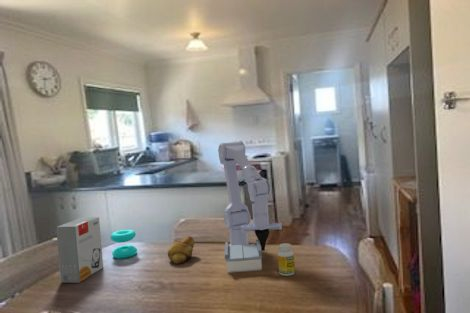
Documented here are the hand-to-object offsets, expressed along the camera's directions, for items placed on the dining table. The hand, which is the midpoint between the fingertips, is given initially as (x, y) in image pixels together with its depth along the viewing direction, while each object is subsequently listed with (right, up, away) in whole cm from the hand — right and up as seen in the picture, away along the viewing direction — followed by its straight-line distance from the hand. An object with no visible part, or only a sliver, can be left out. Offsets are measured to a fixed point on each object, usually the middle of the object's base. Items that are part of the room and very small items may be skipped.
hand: (263, 249), depth 135 cm
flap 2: (-4, -1, 0) cm, 4 cm away
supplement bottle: (+7, -5, -11) cm, 14 cm away
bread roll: (-32, -7, +11) cm, 34 cm away
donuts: (-56, -8, +21) cm, 60 cm away
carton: (-7, -5, 0) cm, 9 cm away
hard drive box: (-66, -10, +2) cm, 67 cm away
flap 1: (-10, -1, 0) cm, 11 cm away
